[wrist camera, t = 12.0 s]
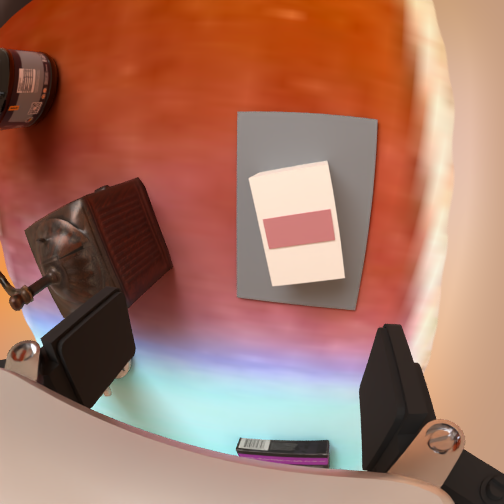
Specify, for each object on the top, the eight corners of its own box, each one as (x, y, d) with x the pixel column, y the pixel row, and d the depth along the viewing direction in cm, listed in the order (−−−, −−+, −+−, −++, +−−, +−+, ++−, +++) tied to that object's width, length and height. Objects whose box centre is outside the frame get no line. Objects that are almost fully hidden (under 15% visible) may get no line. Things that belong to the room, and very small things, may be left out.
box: (240, 432, 42) (260, 485, 48) (234, 449, 39) (256, 498, 45) (330, 436, 38) (329, 488, 44) (328, 454, 35) (327, 502, 41)
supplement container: (11, 92, 29) (-53, 98, 18) (48, 38, 25) (-22, 30, 14) (31, 142, 31) (-40, 157, 20) (71, 86, 27) (-10, 85, 16)
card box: (327, 160, 25) (328, 164, 21) (342, 259, 27) (344, 278, 24) (259, 172, 26) (248, 178, 22) (279, 267, 29) (272, 286, 25)
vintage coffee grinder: (140, 169, 29) (-11, 216, 13) (176, 267, 32) (65, 376, 16) (55, 212, 34) (-56, 264, 17) (85, 288, 37) (-9, 363, 21)
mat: (354, 308, 29) (354, 310, 29) (238, 295, 32) (236, 297, 31) (376, 120, 23) (377, 119, 22) (238, 112, 25) (237, 111, 25)
